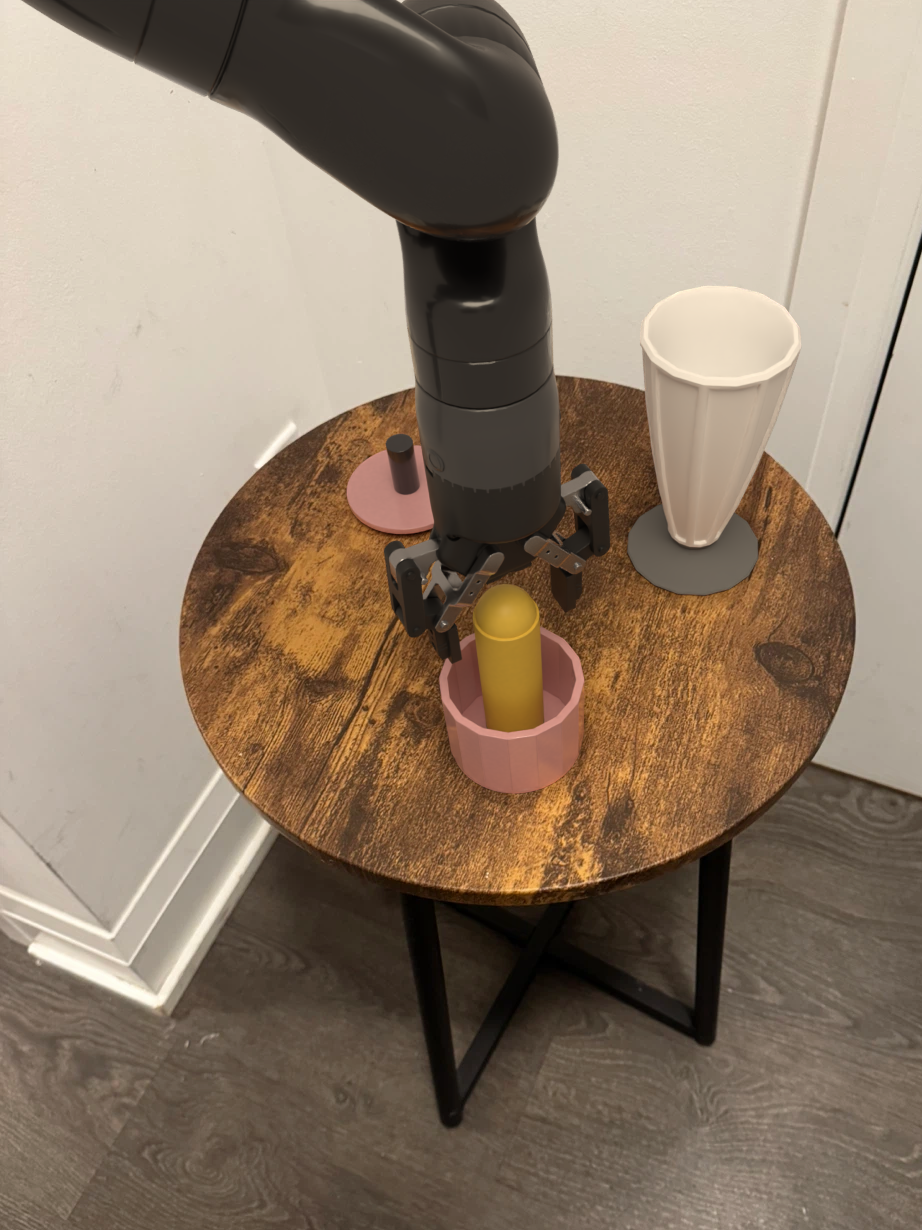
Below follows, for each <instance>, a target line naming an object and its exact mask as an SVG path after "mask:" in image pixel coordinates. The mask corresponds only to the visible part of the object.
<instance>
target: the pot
mask: <svg viewBox="0 0 922 1230" xmlns="http://www.w3.org/2000/svg"><path fill="white" fill-rule="evenodd" d="M540 636H541V658H542V681H543V704H544V723H543V724H542V725H540V726H538V727H536V728H534V729H529V730H522V731H515V732H508V733H507V732H502V731H497V730H491V729H487V728H486V720H485V712H484V704H483V696H482V688H481V681H480V673H479V665H478V657H477V649H476V641H475V633H474V632H473V633H471V634H469V635H467V636H465V637H464V638H462V640H461V641H459V642H460V648H461V655H462V660H460V661H458V662H456V663H454V664H451V662H450V661H449V659H448V658H447V659H444V662H443V665H442V668H441V671H440V674H439V676H438V682H439V690H440V691H439V692H440V698H441V704H442V710H443V715H444V720H445V721H444V722H445V725H446V732H447V737H448V742H449V747H450V753H451V755H452V756H453V760H454V761H455V763H456V765H457V766H458V768H459V769H460V770H461V772H462V773H463V774H464V775H465V776H466V777H467V778H468V779H470V780H471V781H472V782H474V784H475V783H476V784H477V785H479V786H481V787H483V788H485V789H487V790H490V791H495V792H498V793H502V794H526V793H527V794H528V793H531V792H536V791H539V790H541V789H544V788H547V787H550V786H551V785H552V784H555V783H556V782H557V781H559V780H560V779H561V778H563V777H564V776H565V775H566V774H567V773H568V772H569V771H570V770H571V769H572V767H573V766H574V765H575V763H576V761H577V759H578V758H579V755H580V753H581V750H582V746H583V739H584V736H585V675H584V672H583V667H582V663H581V658H580V657H579V655H578V654H577V653H576V652H575V650H574V649H573V648H572V647H571V645H570V644H569V643H568V642H567V641H566V639H564V638H563V637H561V636H559V634H558V635H557V634H555V633H554V632H552V631H551V630H549V629H547V628H545V627H544V626H540Z"/></svg>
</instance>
